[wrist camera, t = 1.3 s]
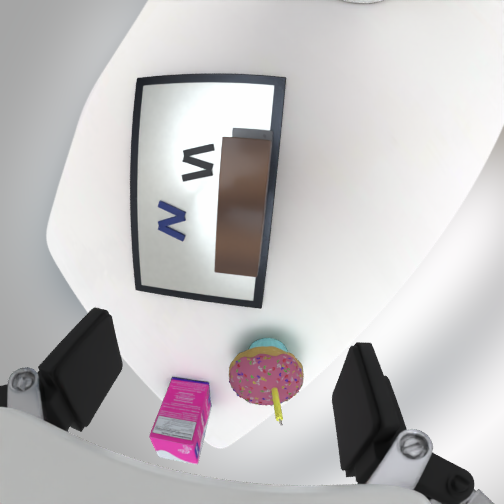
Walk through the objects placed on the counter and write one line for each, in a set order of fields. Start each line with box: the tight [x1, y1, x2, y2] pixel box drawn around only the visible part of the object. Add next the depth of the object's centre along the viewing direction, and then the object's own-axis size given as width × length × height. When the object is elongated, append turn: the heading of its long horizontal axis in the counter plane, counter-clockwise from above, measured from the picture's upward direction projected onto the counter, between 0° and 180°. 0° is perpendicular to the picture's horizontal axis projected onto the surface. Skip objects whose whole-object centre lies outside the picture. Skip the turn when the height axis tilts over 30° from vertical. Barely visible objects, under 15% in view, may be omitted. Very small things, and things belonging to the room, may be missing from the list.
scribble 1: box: [158, 200, 186, 242], centre depth 28 cm, size 4×3×1 cm
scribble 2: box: [182, 144, 215, 182], centre depth 26 cm, size 4×3×1 cm
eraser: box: [214, 128, 273, 277], centre depth 24 cm, size 13×4×6 cm, turn 175°
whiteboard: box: [130, 74, 286, 308], centre depth 28 cm, size 24×15×1 cm, turn 175°
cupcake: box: [229, 338, 303, 425], centre depth 29 cm, size 9×8×12 cm
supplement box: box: [150, 377, 211, 464], centre depth 33 cm, size 6×6×12 cm
